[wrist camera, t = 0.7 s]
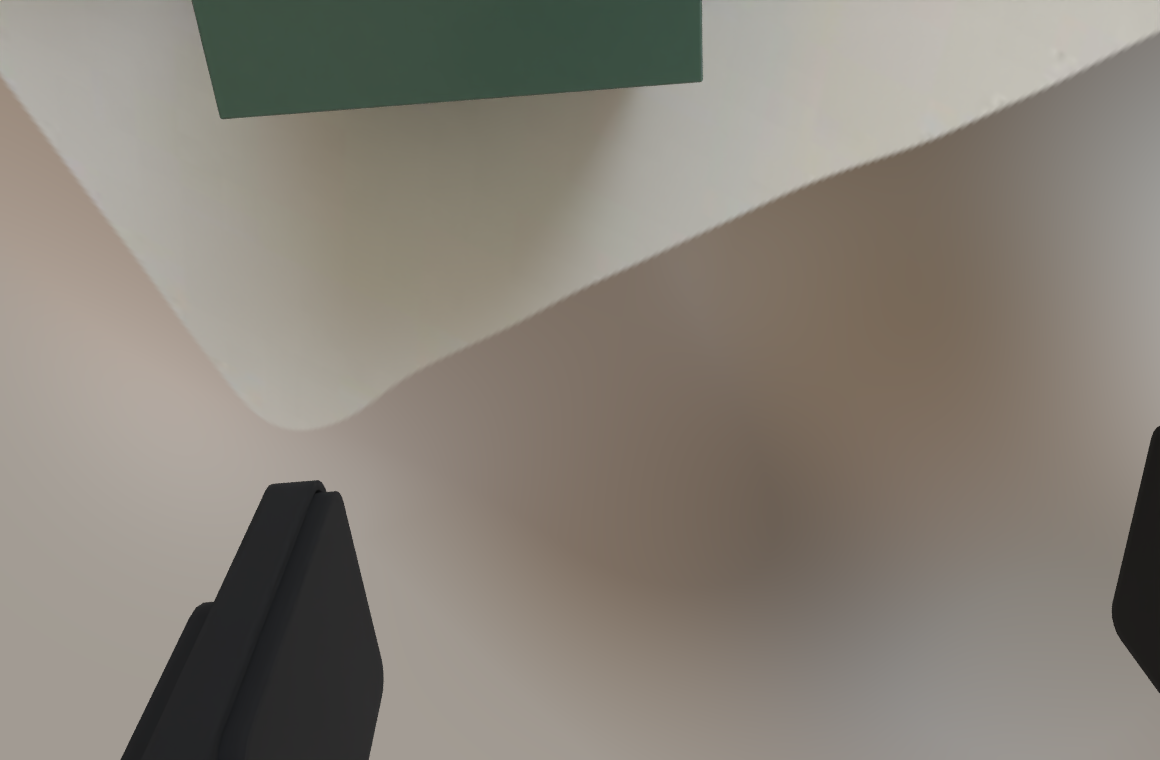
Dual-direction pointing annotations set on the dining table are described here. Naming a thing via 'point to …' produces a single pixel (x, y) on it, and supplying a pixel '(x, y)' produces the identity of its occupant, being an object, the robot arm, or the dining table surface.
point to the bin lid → (438, 50)
